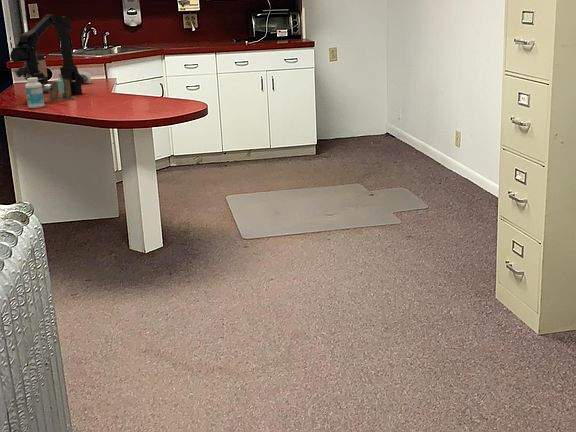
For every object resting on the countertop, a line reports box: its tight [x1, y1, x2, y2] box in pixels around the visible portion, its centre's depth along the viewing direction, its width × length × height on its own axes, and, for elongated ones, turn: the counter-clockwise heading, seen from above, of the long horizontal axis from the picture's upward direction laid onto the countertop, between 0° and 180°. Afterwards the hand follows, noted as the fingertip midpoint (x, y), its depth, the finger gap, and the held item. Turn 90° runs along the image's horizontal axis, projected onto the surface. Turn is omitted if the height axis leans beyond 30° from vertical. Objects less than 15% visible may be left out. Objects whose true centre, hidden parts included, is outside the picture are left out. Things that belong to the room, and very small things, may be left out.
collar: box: [53, 79, 65, 95], centre depth 375 cm, size 3×6×6 cm, turn 32°
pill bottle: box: [24, 78, 45, 109], centre depth 350 cm, size 8×7×14 cm
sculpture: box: [57, 67, 92, 84], centre depth 447 cm, size 25×19×10 cm
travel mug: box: [37, 54, 49, 95], centre depth 404 cm, size 8×8×20 cm
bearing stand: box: [44, 80, 76, 103], centre depth 373 cm, size 20×10×9 cm, turn 122°
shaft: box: [42, 84, 65, 91], centre depth 373 cm, size 19×4×4 cm, turn 122°
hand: (35, 92), depth 370 cm, fingers open, 9 cm apart
